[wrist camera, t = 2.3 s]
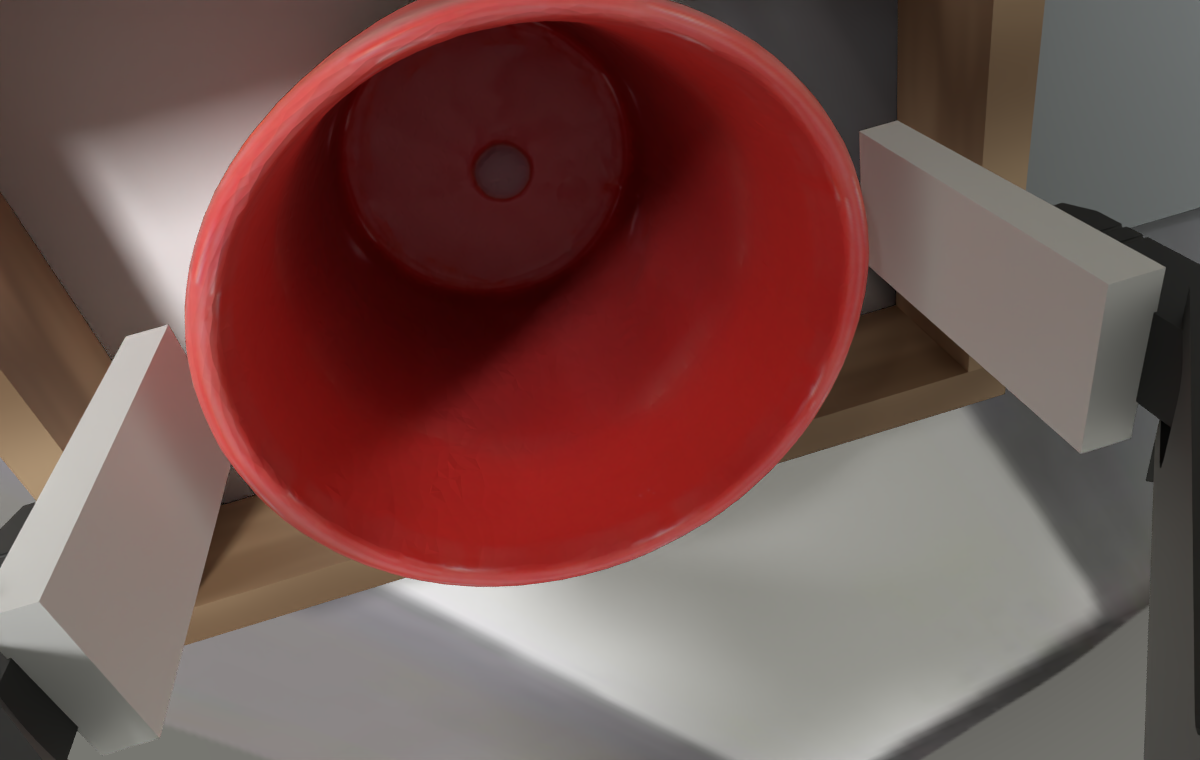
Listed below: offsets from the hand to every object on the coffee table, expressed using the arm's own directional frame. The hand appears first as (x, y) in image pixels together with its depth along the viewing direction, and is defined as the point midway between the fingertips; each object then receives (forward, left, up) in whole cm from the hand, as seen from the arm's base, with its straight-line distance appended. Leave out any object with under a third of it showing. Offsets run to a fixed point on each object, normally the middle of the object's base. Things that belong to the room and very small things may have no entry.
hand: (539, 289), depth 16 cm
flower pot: (0, 0, -7) cm, 7 cm away
